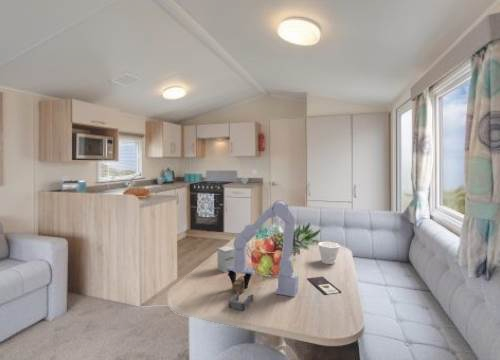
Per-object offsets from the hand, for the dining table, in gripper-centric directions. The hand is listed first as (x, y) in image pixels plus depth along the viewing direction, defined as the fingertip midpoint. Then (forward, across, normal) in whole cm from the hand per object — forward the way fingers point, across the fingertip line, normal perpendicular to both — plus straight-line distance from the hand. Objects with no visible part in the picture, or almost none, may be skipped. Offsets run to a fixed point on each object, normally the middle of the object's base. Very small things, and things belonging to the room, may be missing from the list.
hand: (240, 287), depth 140 cm
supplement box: (+2, -18, +20) cm, 27 cm away
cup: (+2, +35, +56) cm, 66 cm away
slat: (+2, 0, 0) cm, 2 cm away
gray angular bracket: (+1, +6, -12) cm, 14 cm away
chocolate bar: (+2, +37, +21) cm, 43 cm away
